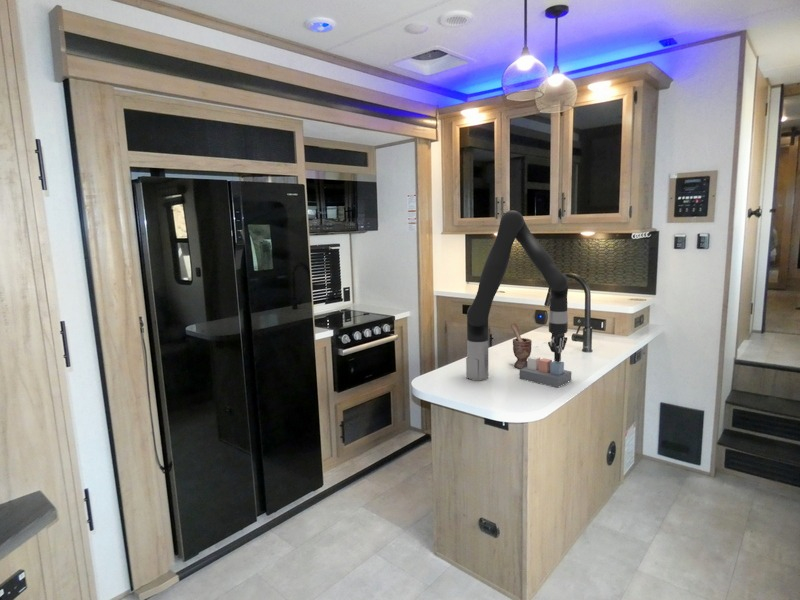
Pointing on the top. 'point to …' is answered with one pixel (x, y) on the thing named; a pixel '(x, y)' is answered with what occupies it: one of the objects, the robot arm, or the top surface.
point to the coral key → (545, 365)
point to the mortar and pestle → (520, 348)
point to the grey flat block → (545, 377)
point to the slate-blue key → (557, 368)
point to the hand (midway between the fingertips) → (557, 361)
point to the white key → (533, 363)
